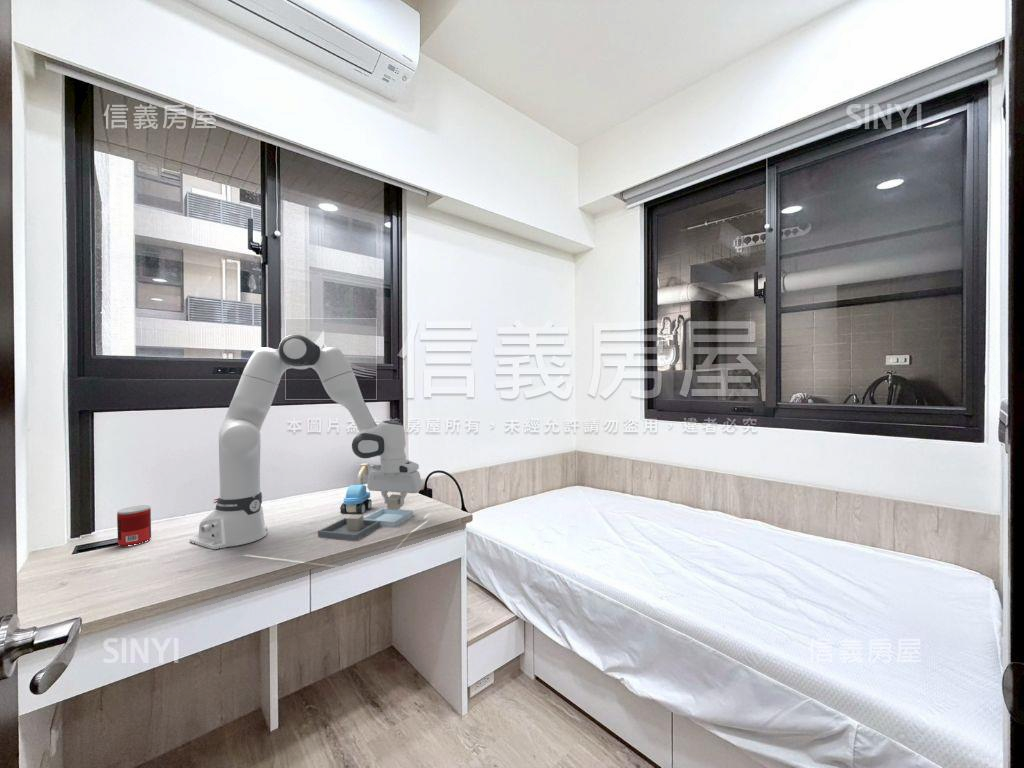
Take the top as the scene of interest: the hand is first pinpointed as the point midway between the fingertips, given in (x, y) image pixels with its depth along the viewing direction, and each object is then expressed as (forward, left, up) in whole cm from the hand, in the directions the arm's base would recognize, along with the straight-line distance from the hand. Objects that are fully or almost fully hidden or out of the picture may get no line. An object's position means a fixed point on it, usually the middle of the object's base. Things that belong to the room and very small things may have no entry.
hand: (394, 503), depth 150 cm
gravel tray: (-9, -14, -6) cm, 17 cm away
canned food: (-72, -37, -7) cm, 81 cm away
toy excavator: (-22, +10, -7) cm, 25 cm away
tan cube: (-9, -11, -6) cm, 15 cm away
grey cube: (0, +1, -2) cm, 2 cm away
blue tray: (-3, 0, -6) cm, 7 cm away
